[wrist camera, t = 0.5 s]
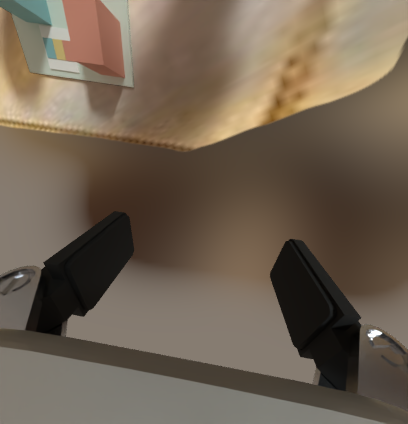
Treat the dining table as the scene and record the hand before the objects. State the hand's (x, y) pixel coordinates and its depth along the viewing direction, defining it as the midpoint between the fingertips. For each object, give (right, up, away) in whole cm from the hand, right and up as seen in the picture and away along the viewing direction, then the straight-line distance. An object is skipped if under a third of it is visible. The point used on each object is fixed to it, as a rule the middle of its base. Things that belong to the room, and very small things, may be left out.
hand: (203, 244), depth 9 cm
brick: (-18, +32, +19) cm, 41 cm away
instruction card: (-28, +33, +19) cm, 47 cm away
